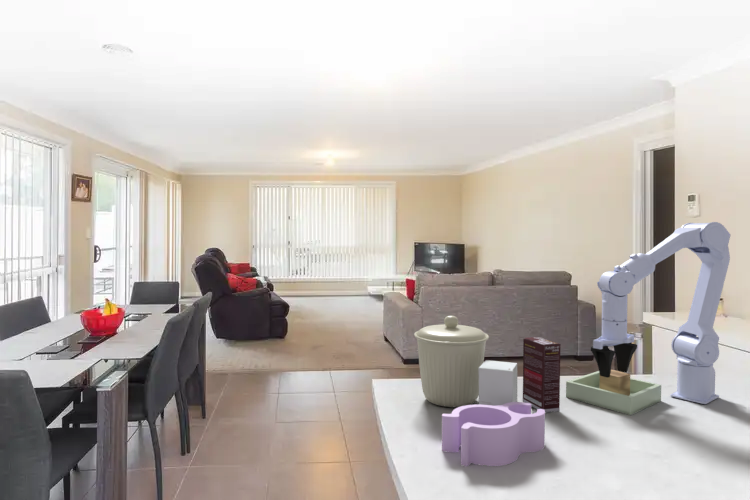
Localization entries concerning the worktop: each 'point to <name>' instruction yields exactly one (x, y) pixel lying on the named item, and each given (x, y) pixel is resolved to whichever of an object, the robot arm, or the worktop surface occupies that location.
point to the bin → (613, 394)
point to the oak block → (616, 382)
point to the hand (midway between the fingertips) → (613, 374)
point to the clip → (493, 432)
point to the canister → (450, 362)
